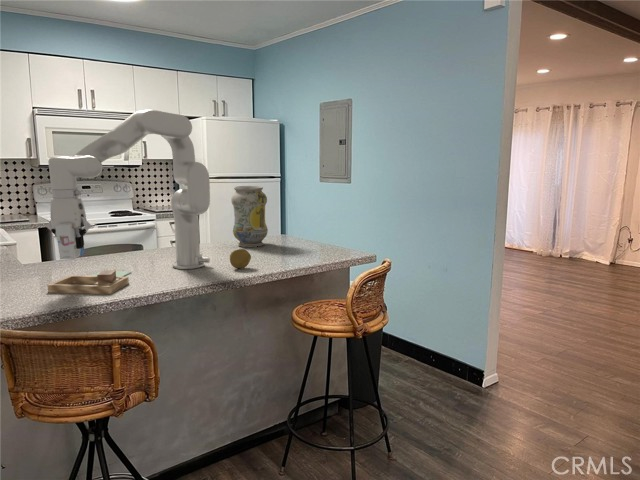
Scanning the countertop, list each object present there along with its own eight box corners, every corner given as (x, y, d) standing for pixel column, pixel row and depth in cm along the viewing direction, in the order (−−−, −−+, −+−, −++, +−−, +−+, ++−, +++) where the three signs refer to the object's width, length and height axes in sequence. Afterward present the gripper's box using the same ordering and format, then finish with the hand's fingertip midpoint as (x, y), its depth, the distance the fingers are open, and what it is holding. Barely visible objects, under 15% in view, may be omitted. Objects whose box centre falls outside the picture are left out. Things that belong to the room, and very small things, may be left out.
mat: (131, 272, 180) (131, 271, 180) (113, 282, 166) (112, 280, 166) (101, 271, 181) (101, 270, 180) (80, 281, 167) (80, 280, 167)
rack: (128, 283, 164) (128, 276, 164) (110, 294, 151) (109, 286, 151) (71, 282, 165) (70, 275, 165) (48, 292, 153) (47, 285, 152)
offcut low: (120, 286, 161) (119, 278, 161) (109, 292, 154) (109, 283, 154) (106, 286, 162) (105, 278, 161) (95, 292, 155) (94, 283, 154)
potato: (227, 269, 186) (226, 250, 184) (237, 265, 193) (236, 246, 191) (242, 271, 183) (242, 251, 182) (252, 267, 190) (251, 248, 189)
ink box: (70, 253, 161) (66, 220, 159) (85, 253, 162) (81, 219, 160) (58, 259, 153) (54, 224, 151) (74, 259, 153) (70, 223, 151)
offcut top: (116, 278, 161) (115, 270, 160) (111, 283, 155) (111, 274, 154) (102, 279, 160) (102, 270, 159) (97, 283, 154) (97, 274, 154)
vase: (251, 249, 226) (250, 188, 221) (225, 245, 236) (223, 186, 231) (274, 244, 241) (274, 186, 236) (248, 240, 251) (247, 185, 246)
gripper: (96, 193, 156) (101, 245, 160) (47, 193, 158) (54, 245, 161) (83, 195, 149) (89, 250, 153) (32, 195, 150) (40, 250, 154)
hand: (71, 247), depth 157 cm, fingers closed on ink box, 5 cm apart
